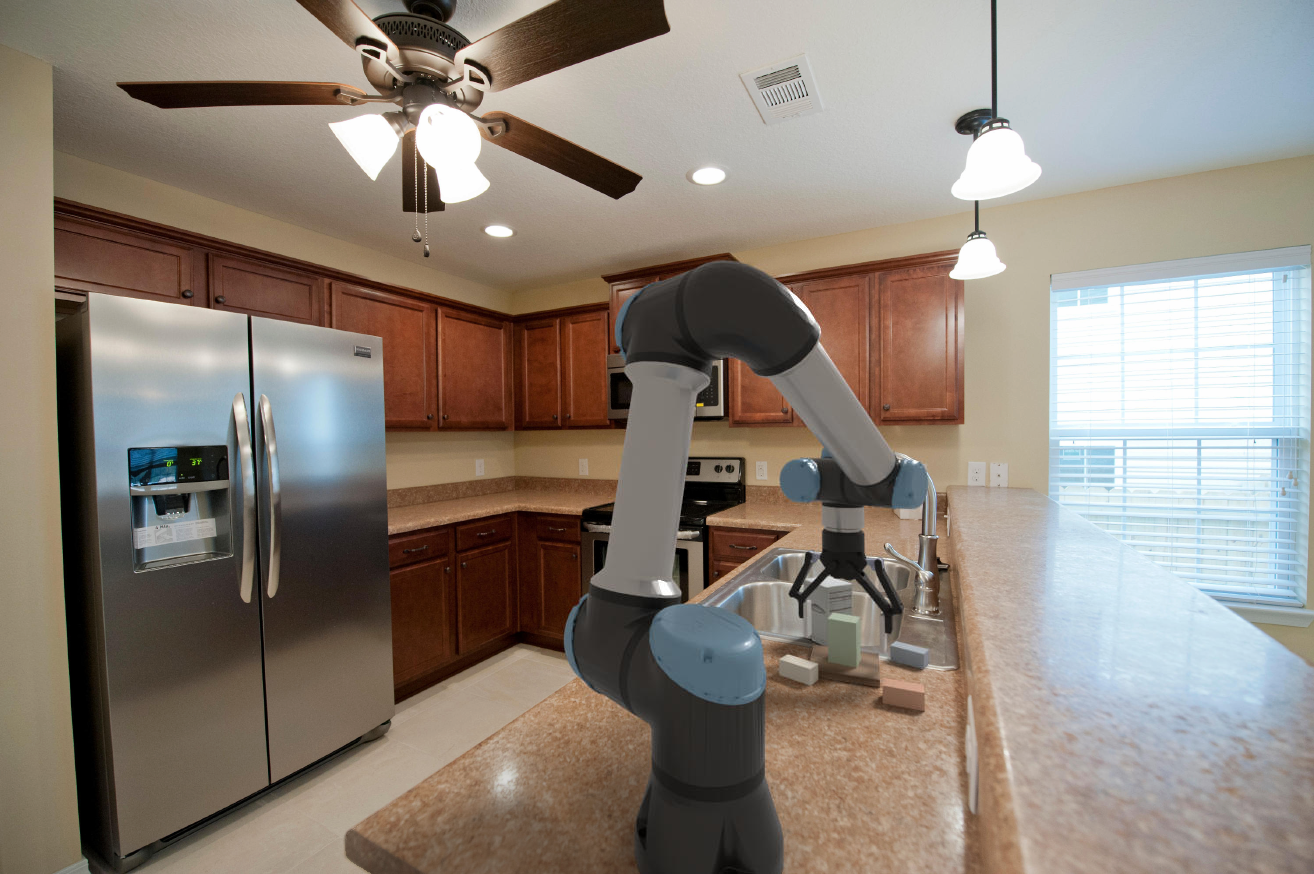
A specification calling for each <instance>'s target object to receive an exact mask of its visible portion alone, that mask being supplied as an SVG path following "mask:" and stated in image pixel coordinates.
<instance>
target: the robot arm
mask: <svg viewBox="0 0 1314 874" xmlns="http://www.w3.org/2000/svg"><path fill="white" fill-rule="evenodd" d="M821 335H822V331H821V327H820V324H819V323H818V322H817V320H816V319H815V317H814V316H813V315H812V313H811V311H810V310H809V308H808V307H807V306H806V304H804V302H802V300H801V299H800V298H799V296H797V295H795V294H794V292H792V291H791V290H790V289H789V288H788V287H787V286H785V285H784V284H783V283H782V282H780V281H779V280H777V279H776V278H774V277H773V276H771V275H770V274H768V273H766V272H765V271H764V270H761V269H759V268H757V267H754V266H753V265H750V264H747V263H743V262H740V261H733V260H715V261H710V262H706V263H704V264H702V265H699V266H697V267H696V268H693V269H691V270H688V271H686V272H685V271H684V272H683V273H680V274H677V275H674V276H672V277H670V278H667V279H664V280H659V281H655V282H652V283H649V284H647V285H645V286H643V287H642V288H640V290H637V291H636V292H634V293H632V294H631V295H630V296H629V297H628V298H626V300H625V301H624V302H623V304H622V305H621V307H620V309H619V311H618V313H617V316H616V319H615V325H614V336H615V337H614V338H615V343H616V346H617V347H619V349H620V351H619V354H620V356H621V358H622V359H623V360H624V362H625V363H624V369H623V370H624V371H623V372H624V374H625V375H626V377H627V378H628V379H629V380H630V382H631V383H632V392H631V398H630V403H629V404H630V406H629V411H628V417H627V424H626V430H625V437H624V442H623V447H622V449H623V450H622V455H621V462H620V466H619V467H620V468H619V473H618V479H617V486H616V492H615V499H614V504H613V505H614V506H613V512H612V519H611V524H610V531H609V536H608V537H609V539H608V544H607V550H606V555H605V556H606V557H605V562H604V567H603V568H601V570H599V572H597V573H596V574H595V575H592V577H591V578H590V582H589V588H588V593H586V594H585V595H583V596H582V597H581V598H580V599H579V601H578V602H579V603H578V604H576V605H575V606H573V607H572V609H571V611H570V613H569V614H568V618H567V620H566V623H565V627H564V634H563V647H564V652H565V658H566V660H567V662H568V665H569V666H570V669H571V670H572V671H573V673H575V674H576V676H577V678H580V679H581V680H582V681H583V682H584V683H585V684H586V686H587V687H588V688H590V689H591V690H592V691H594V692H595V693H597V694H599V695H603V696H604V697H606V698H608V699H609V700H611V701H612V702H614V703H615V704H617V705H619V706H620V707H621V708H623V709H624V710H625V711H627V712H629V713H631V714H632V715H634V716H636V717H637V718H638V719H640V720H642V721H643V722H645V723H646V724H648V725H649V727H650V730H651V732H650V733H651V737H650V738H651V742H650V743H651V745H650V748H651V749H650V750H651V751H650V752H651V767H650V768H651V769H650V770H651V771H650V773H649V774H650V775H649V776H648V779H647V783H646V786H645V789H644V794H643V796H642V799H641V802H640V805H639V809H638V812H637V816H636V818H635V819H636V820H635V825H634V857H635V862H636V865H637V868H638V870H639V873H640V874H783V871H784V870H783V869H784V865H785V864H784V863H785V859H784V857H785V856H784V855H785V854H784V853H785V852H784V849H785V848H784V834H783V829H782V825H781V821H780V819H779V816H778V812H777V809H776V806H775V803H774V800H773V796H772V793H771V791H770V788H769V784H768V781H767V777H766V685H767V672H766V671H767V669H766V665H765V658H764V645H763V642H762V639H761V636H760V634H759V632H758V631H757V629H756V628H755V626H753V625H752V624H751V623H750V622H749V621H748V620H747V619H746V618H745V617H742V616H741V615H739V614H737V613H735V612H732V611H730V610H728V609H725V608H722V607H719V606H715V605H709V606H705V605H703V604H702V603H701V604H700V603H681V600H682V590H681V588H680V587H679V586H678V585H677V583H676V582H675V580H674V578H673V569H674V563H675V555H676V548H677V547H676V546H677V540H678V534H679V525H680V521H681V520H680V519H681V511H682V504H683V497H684V492H685V491H684V490H685V485H686V483H685V482H686V475H687V469H688V467H687V466H688V462H689V454H690V446H691V441H692V434H693V426H694V418H695V411H696V402H697V397H698V394H700V392H702V391H703V390H704V389H706V388H708V387H709V386H710V383H711V380H712V379H711V378H712V372H713V371H712V369H713V362H714V361H716V360H718V361H719V360H722V359H727V358H730V359H735V360H739V361H741V362H743V363H745V364H746V365H747V366H748V367H749V369H750V370H751V371H752V372H753V374H755V375H756V376H758V377H759V378H763V379H769V380H770V382H771V383H772V384H773V386H774V387H775V388H776V389H777V391H778V392H779V393H780V395H782V397H783V398H784V399H785V401H786V402H787V403H788V404H789V405H790V407H791V408H792V409H793V411H794V412H795V413H796V414H797V415H798V417H799V418H800V419H801V421H803V423H804V424H805V425H806V427H807V428H808V429H809V431H810V432H812V434H813V436H814V437H815V438H816V439H817V440H818V442H819V443H820V444H821V445H822V447H823V448H822V449H821V455H820V457H799V458H795V459H791V460H789V461H787V462H786V463H785V464H784V465H783V467H782V468H781V470H780V473H779V487H780V490H781V492H782V493H783V494H784V496H785V497H786V498H787V499H788V500H790V501H792V502H793V503H794V502H795V503H801V504H804V503H806V504H810V503H812V502H813V503H814V502H817V503H818V502H819V503H821V525H822V527H824V528H823V529H822V530H821V553H820V552H815V551H814V550H813V549H809V550H808V551H806V552H805V553H804V561H803V564H802V567H801V568H800V570H799V572H798V574H797V576H796V578H795V580H794V582H793V583H792V586H791V587H790V590H789V591H788V596H789V598H794V600H796V601H797V603H798V613H797V614H798V617H799V619H802V620H803V638H804V639H808V637H809V636H810V635H811V634H812V626H811V600H807V598H808V597H809V596H810V594H811V593H812V592H813V591H814V590H815V589H816V588H817V587H818V586H819V585H820V584H821V583H822V582H823V581H824V580H825V579H826V578H827V577H828V576H830V577H833V578H834V579H839V580H841V579H842V580H844V581H849V582H851V581H853V580H855V581H856V582H857V584H858V585H860V586H861V588H863V590H865V592H866V593H867V594H868V596H869V597H870V598H871V600H872V601H873V602H874V604H876V606H877V607H878V608H879V610H880V611H881V612H880V615H879V653H880V654H885V653H886V651H887V649H888V635H892V632H893V630H894V616H895V615H902V613H903V612H904V610H905V606H904V604H903V602H902V600H901V598H900V596H899V593H898V592H897V590H896V589H895V586H894V585H893V583H892V581H891V578H890V577H889V575H888V572H887V571H886V568H885V560H884V558H883V557H881V556H878V557H877V558H868V557H867V555H866V551H865V550H866V549H865V548H866V545H865V542H866V541H865V538H866V537H865V531H864V530H862V529H863V528H865V507H875V508H884V509H892V510H898V509H899V510H904V509H905V510H916V509H918V508H920V507H921V506H922V505H923V504H924V502H925V501H926V499H927V495H928V489H929V478H928V477H929V476H928V473H927V469H926V468H925V467H926V466H925V465H924V464H923V463H922V462H921V461H918V460H915V459H908V458H906V457H905V458H902V459H901V458H900V459H899V458H898V457H897V455H896V453H895V452H894V451H893V450H892V448H891V447H890V446H889V443H888V442H887V441H886V439H885V438H884V436H883V435H882V433H881V432H880V430H879V429H878V427H877V426H876V425H875V423H874V422H873V420H872V418H871V417H870V415H869V414H868V413H867V411H866V409H865V408H864V407H863V406H862V403H861V402H860V401H859V399H858V398H857V396H856V394H855V393H854V391H853V390H852V389H851V387H850V386H849V384H848V383H847V381H846V379H845V378H844V377H843V375H842V374H841V372H840V371H839V369H838V368H837V365H835V363H834V362H833V360H832V359H831V357H830V355H829V354H828V353H827V351H826V350H825V348H824V347H823V345H822V343H820V339H821ZM818 560H819V561H820V563H821V564H822V565H823V567H824V569H823V570H822V571H821V572H820V573H819V574H818V576H816V577H817V578H816V579H815V580H814V581H813V582H812V583H811V584H810V585H809V586H808V587H807V588H806V589H805V590H804V589H803V591H802V592H801V591H800V590H801V588H802V586H804V581H805V579H807V578H808V577H807V576H808V575H809V573H810V571H811V569H812V567H813V565H814V564H816V563H817V562H818ZM867 566H869V567H870V569H871V571H873V572H875V574H876V576H877V579H878V581H879V583H880V585H881V587H882V589H883V591H884V593H885V594H886V596H887V598H888V600H889V602H888V601H887V599H886V598H885V596H883V594H882V593H881V592H880V591H879V589H878V588H877V587H876V586H875V584H874V583H873V582H872V581H871V579H870V578H869V576H868V574H867V573H866V572H865V571H864V570H865V568H866V567H867Z"/></svg>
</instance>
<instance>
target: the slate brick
mask: <svg viewBox="0 0 1314 874" xmlns="http://www.w3.org/2000/svg"><path fill="white" fill-rule="evenodd" d="M889 648H890V649H889V650H890V651H889V653H890V656H889V657H890V661H893V662H895V663H900V664H904V665H906V666H911V667H914V668H917V669H921V670H926V668H927V667H929V665H930V649H929V648H926V647H925V648H924V647H921V646H918V645H917V646H916V645H913V644H910V643H904V642H900V641H898V640H896V641H894V642H893V643H891V644H890V647H889ZM928 664H929V665H928Z"/></svg>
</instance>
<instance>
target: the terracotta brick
mask: <svg viewBox="0 0 1314 874" xmlns="http://www.w3.org/2000/svg"><path fill="white" fill-rule="evenodd" d="M925 697H926V696H925V685H924V684H920V683H915V682H908V681H903V680H898V679H891V678H886V677H883V678H882V704H885V705H890V706H896V707H901V708H907V709H912V710H916V711H917V710H918V711H923V712H926V707H925V706H926V702H925V701H926V700H925V699H926V698H925Z"/></svg>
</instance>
